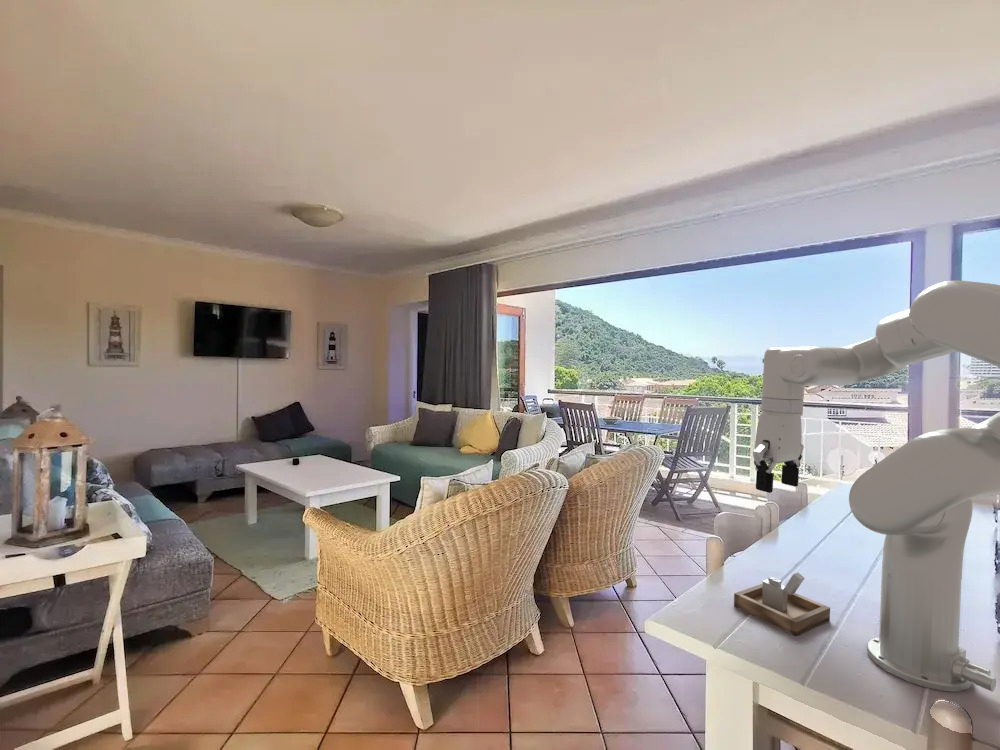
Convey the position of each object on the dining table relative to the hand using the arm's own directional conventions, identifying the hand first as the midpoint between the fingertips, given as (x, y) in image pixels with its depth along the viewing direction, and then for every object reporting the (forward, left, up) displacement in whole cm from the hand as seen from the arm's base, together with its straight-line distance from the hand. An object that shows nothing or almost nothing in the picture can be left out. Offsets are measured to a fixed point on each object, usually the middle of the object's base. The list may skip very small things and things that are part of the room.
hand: (777, 487), depth 102 cm
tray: (-6, +8, -22) cm, 24 cm away
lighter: (-6, +8, -21) cm, 24 cm away
